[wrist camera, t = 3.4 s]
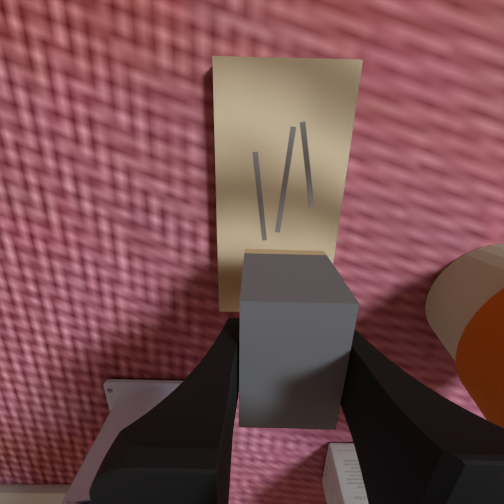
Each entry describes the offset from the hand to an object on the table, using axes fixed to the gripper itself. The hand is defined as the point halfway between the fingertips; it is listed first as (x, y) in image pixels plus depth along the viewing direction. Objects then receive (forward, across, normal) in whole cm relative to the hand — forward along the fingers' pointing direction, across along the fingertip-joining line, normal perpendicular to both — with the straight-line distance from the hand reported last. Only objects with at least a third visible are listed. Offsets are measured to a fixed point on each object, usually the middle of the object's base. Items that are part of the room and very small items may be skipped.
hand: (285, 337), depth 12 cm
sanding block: (+3, 0, 0) cm, 3 cm away
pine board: (+8, 0, -4) cm, 9 cm away
